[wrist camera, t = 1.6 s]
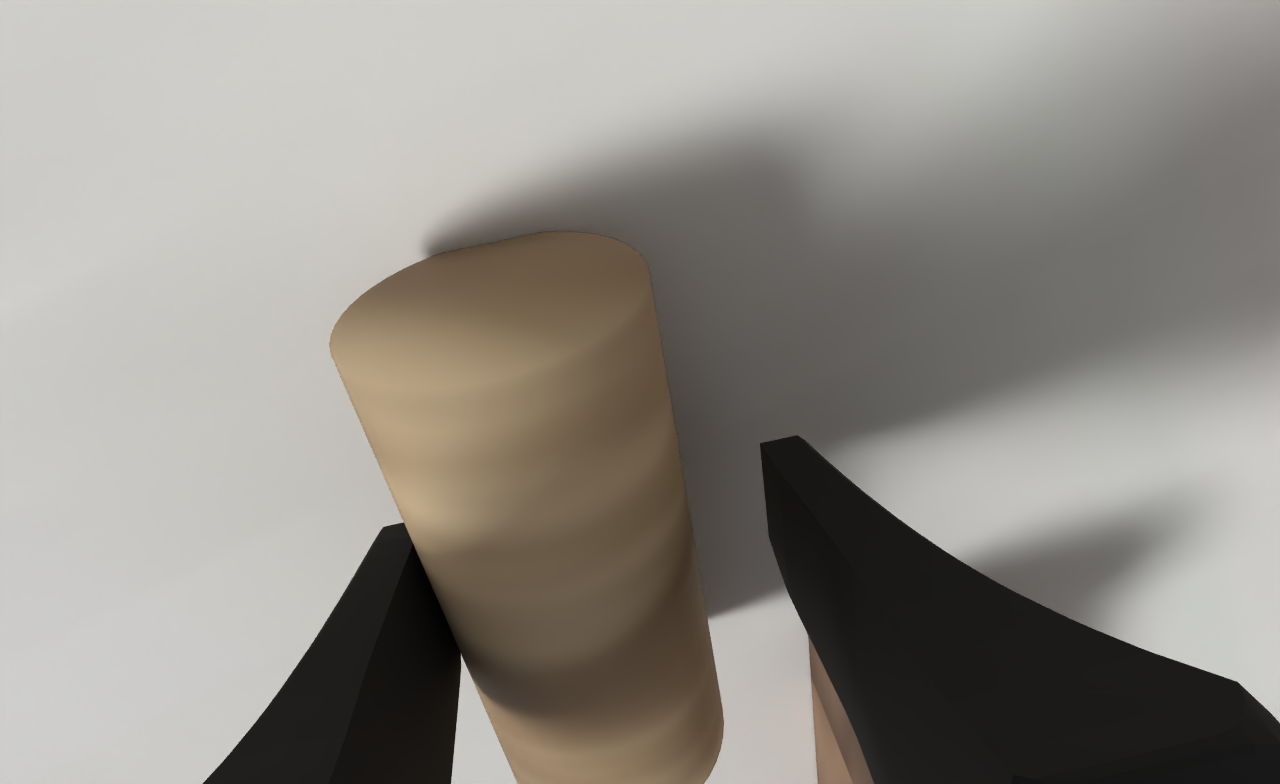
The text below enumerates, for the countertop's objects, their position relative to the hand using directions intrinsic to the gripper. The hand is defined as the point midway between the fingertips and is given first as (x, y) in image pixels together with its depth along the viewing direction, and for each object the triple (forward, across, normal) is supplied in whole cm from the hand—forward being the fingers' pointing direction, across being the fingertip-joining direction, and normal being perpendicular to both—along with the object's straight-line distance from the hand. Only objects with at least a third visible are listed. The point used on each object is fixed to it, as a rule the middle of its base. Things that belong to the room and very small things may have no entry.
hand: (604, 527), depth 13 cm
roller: (+2, 0, 0) cm, 2 cm away
